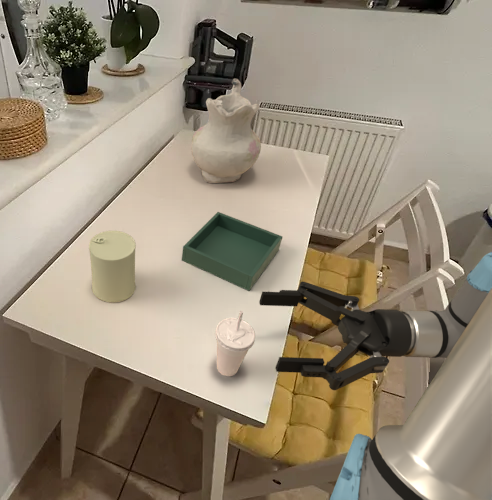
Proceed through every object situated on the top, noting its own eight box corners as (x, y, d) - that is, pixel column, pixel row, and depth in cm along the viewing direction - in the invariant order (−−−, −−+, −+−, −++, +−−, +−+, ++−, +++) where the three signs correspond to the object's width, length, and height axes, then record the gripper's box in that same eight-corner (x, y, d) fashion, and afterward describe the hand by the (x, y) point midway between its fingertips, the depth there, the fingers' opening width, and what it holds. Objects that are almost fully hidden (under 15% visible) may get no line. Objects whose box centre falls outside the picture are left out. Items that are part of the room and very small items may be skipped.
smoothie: (251, 362, 76) (266, 309, 67) (237, 389, 72) (252, 337, 63) (218, 346, 79) (229, 293, 70) (202, 371, 75) (212, 319, 66)
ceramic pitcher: (189, 156, 137) (189, 77, 121) (250, 154, 136) (259, 73, 120) (192, 193, 121) (193, 107, 105) (262, 191, 120) (274, 103, 103)
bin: (278, 250, 101) (282, 236, 98) (249, 291, 90) (252, 277, 87) (215, 224, 108) (217, 211, 105) (181, 260, 97) (182, 246, 95)
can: (102, 267, 95) (100, 224, 87) (141, 277, 93) (142, 234, 85) (84, 295, 88) (80, 251, 81) (126, 307, 86) (125, 263, 78)
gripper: (426, 417, 62) (280, 412, 63) (363, 293, 81) (251, 290, 82) (451, 388, 58) (293, 383, 58) (378, 264, 77) (259, 260, 77)
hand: (268, 329), depth 70 cm, fingers open, 13 cm apart
